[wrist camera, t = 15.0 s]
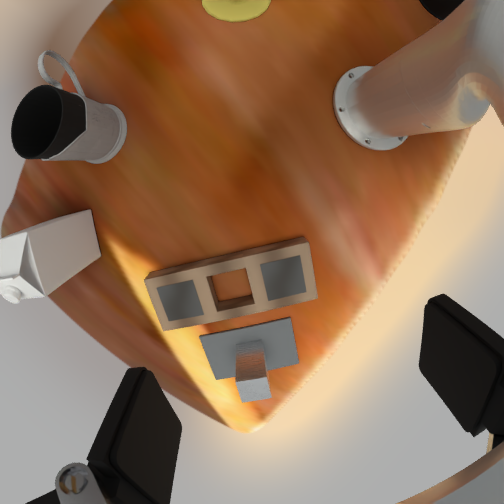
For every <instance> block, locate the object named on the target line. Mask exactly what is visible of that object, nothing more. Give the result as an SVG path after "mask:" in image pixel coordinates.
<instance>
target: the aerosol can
mask: <svg viewBox="0 0 504 504" xmlns="http://www.w3.org/2000/svg"><path fill="white" fill-rule="evenodd" d="M463 1H464V0H420V2H421V3H422V5H423V6H424V7H425V8H426V9H427V10H428V11H429V12H430V13H431V14H432V15H434V16H435V17H437V18H439V19H441V20H444V19H445V18H446V17H447V16H449V15H450V14H451V13H452V12H453V11H454V10H455V9H456V8H457V7H458V6H459V5H460V4H461V3H462V2H463Z"/></svg>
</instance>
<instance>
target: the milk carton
mask: <svg viewBox="0 0 504 504" xmlns="http://www.w3.org/2000/svg"><path fill="white" fill-rule="evenodd" d="M99 257H101V253H100V249H99V245H98V241H97V236H96V232H95V227H94V223H93V218H92V213H91V209H90V210H85V211H81V212H77V213H73V214H69V215H66V216H62V217H58V218H55V219H52V220H49V221H46V222H43V223H41V224H38V225H35V226H32V227H30V228H27V229H24V230H22V231H19V232H16V233H14V234H11V235H9V236H6V237H4V238H1V239H0V294H1V295H2V296H3V297H4V298H5V299H6V300H7V301H9V302H11V303H19V302H20V299H27V298H39V297H46V296H47V295H49V294H50V293H51V292H53V291H54V290H55V289H57V288H58V287H59V286H60V285H62V284H63V283H64V282H66V281H67V280H68V279H70V278H71V277H73V276H74V275H75V274H77V273H78V272H79V271H81V270H82V269H84V268H85V267H86V266H88V265H89V264H91V263H92V262H93V261H95V260H96V259H98V258H99Z"/></svg>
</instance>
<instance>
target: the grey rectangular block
mask: <svg viewBox="0 0 504 504" xmlns="http://www.w3.org/2000/svg"><path fill="white" fill-rule="evenodd" d="M236 385H237V388H238V391H239V394H240V397H241V400H242V402H249V401H255V400H262V399H268V398H271V390H270V383H269V376H268V369H267V362H266V356H265V352H264V347H263V342H262V339H260V340H254V341H249V342H243V343H237V344H236Z"/></svg>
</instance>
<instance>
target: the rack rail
mask: <svg viewBox="0 0 504 504" xmlns="http://www.w3.org/2000/svg"><path fill="white" fill-rule="evenodd" d="M242 268H246V270H247V274H248V278H249V282H250V286H251V290H252V294H253V295H249V296H245V297H240V298H236V299H231V300H226V301H222V302H218V299H217V296H216V293H215V289H214V286H213V283H212V279H211V275H216V274H220V273H225V272H229V271H234V270H238V269H242ZM144 282H145V285H146V288H147V290H148V293H149V296H150V298H151V301H152V304H153V306H154V309H155V311H156V314H157V316H158V319H159V321H160V324H161V326H162V329H163V331H167V330H173V329H178V328H184V327H190V326H195V325H200V324H206V323H211V322H216V321H221V320H226V319H231V318H236V317H240V316H245V315H250V314H254V313H259V312H263V311H268V310H272V309H276V308H281V307H285V306H289V305H293V304H297V303H301V302H305V301H309V300H313V299H317V298H318V296H317V289H316V283H315V276H314V270H313V264H312V258H311V252H310V246H309V242H308V241H307V240H306V239H305V238H304V237H300V238H296V239H292V240H287V241H283V242H279V243H274V244H270V245H266V246H261V247H257V248H253V249H248V250H244V251H240V252H235V253H231V254H227V255H223V256H218V257H214V258H210V259H205V260H201V261H197V262H193V263H188V264H184V265H180V266H175V267H171V268H167V269H163V270H158V271H154V272H150V273H149V274H148V276H147V277H146V278H145V279H144Z"/></svg>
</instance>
